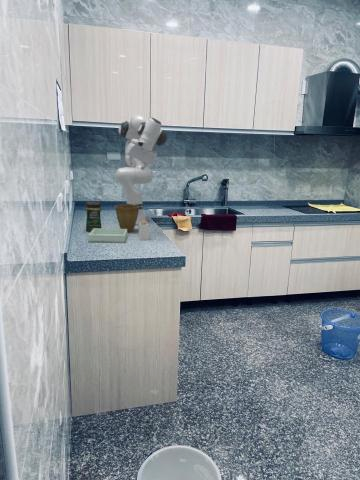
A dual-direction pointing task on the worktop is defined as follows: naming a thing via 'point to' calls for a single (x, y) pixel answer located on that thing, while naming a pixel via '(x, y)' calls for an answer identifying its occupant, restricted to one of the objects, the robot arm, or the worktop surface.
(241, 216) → the worktop surface
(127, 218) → the plant pot
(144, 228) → the cup post
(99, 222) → the coffee jar
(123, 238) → the tray
